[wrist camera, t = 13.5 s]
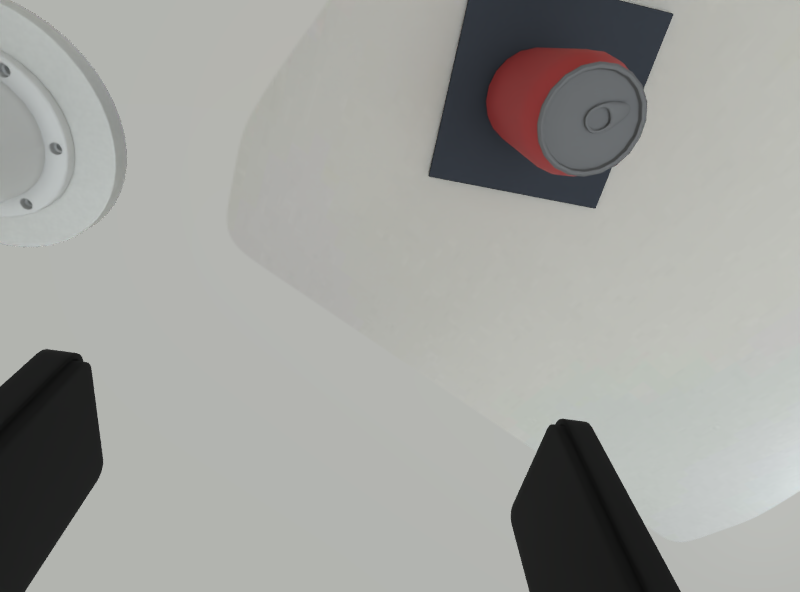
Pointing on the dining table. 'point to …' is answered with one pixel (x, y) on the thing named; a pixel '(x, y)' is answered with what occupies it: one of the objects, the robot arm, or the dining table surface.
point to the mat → (501, 39)
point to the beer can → (567, 109)
